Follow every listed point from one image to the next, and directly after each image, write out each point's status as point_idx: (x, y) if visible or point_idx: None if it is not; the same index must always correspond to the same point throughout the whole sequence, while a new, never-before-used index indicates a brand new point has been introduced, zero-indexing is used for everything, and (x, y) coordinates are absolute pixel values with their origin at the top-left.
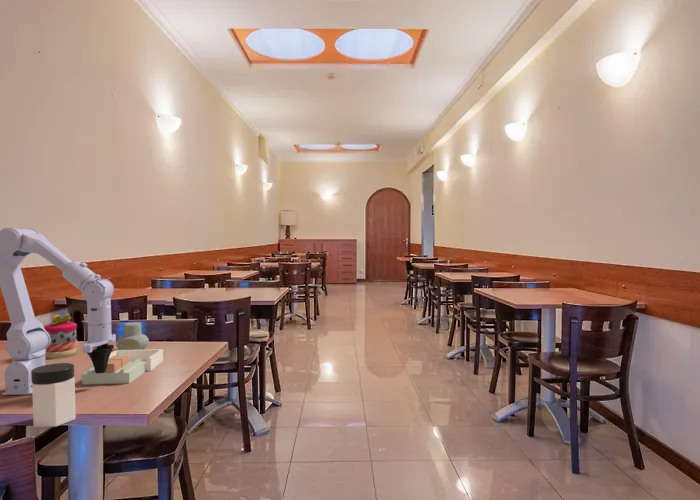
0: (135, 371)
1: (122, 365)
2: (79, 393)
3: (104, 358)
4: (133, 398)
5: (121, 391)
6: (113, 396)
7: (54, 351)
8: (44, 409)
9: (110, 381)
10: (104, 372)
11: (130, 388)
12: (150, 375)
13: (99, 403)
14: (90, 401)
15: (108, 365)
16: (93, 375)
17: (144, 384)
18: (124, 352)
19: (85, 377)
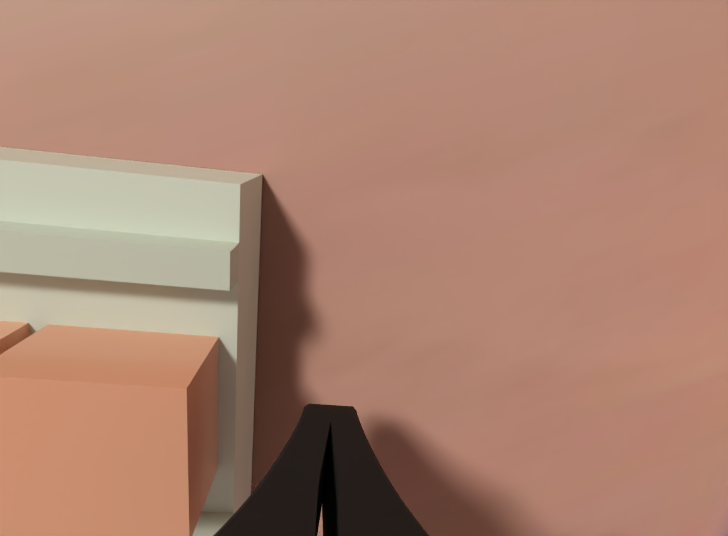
0: (79, 163)
1: (6, 332)
2: (448, 441)
3: (418, 523)
4: (711, 2)
5: (482, 170)
6: (593, 193)
7: None
8: None
9: (253, 331)
10: (216, 423)
11: (416, 117)
12: (3, 34)
13: (720, 240)
14: (649, 314)
15: (193, 436)
16: (238, 483)
17: (317, 13)
18: None
19: None
